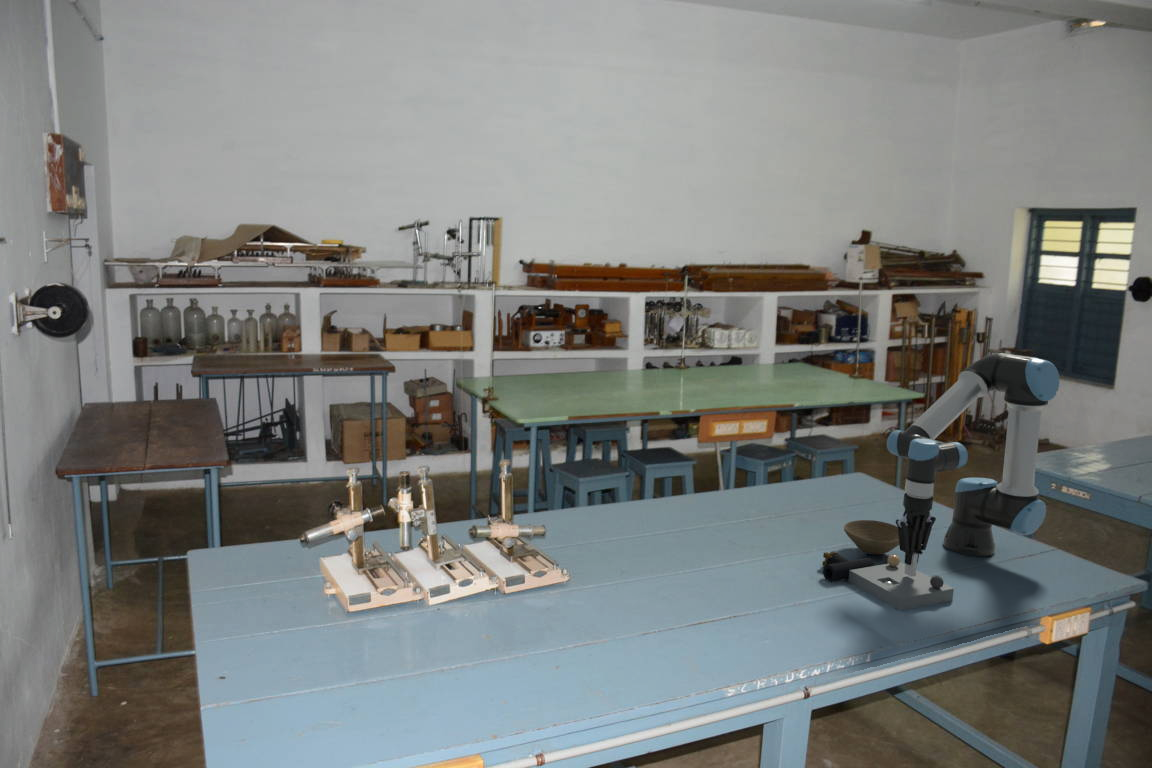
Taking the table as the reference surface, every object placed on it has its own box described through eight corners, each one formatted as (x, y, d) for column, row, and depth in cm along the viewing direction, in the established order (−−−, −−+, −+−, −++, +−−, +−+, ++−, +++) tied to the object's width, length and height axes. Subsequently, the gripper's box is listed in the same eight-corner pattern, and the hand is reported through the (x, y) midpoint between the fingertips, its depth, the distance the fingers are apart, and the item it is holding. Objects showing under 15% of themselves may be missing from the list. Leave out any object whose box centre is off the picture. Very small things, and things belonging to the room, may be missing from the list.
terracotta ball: (893, 563, 252) (894, 552, 252) (901, 567, 249) (903, 556, 249) (884, 564, 251) (885, 553, 250) (892, 569, 248) (894, 558, 247)
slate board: (898, 572, 254) (899, 561, 254) (952, 600, 237) (953, 588, 236) (848, 581, 247) (849, 570, 246) (900, 610, 229) (901, 598, 228)
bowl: (838, 557, 264) (841, 533, 263) (844, 538, 281) (846, 515, 280) (902, 568, 258) (905, 543, 256) (904, 548, 275) (907, 524, 273)
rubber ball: (935, 584, 238) (937, 573, 237) (945, 589, 235) (947, 577, 234) (926, 586, 237) (928, 574, 236) (936, 591, 234) (937, 579, 233)
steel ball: (890, 582, 242) (883, 577, 240) (899, 587, 239) (892, 581, 237) (883, 592, 242) (877, 587, 240) (892, 597, 239) (886, 591, 237)
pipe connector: (809, 553, 254) (848, 546, 260) (807, 569, 255) (846, 563, 261) (836, 568, 244) (876, 561, 250) (834, 585, 245) (873, 578, 251)
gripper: (925, 488, 244) (917, 566, 248) (890, 493, 238) (882, 572, 243) (946, 496, 237) (937, 576, 242) (911, 501, 232) (902, 583, 236)
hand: (909, 574), depth 242 cm, fingers closed
